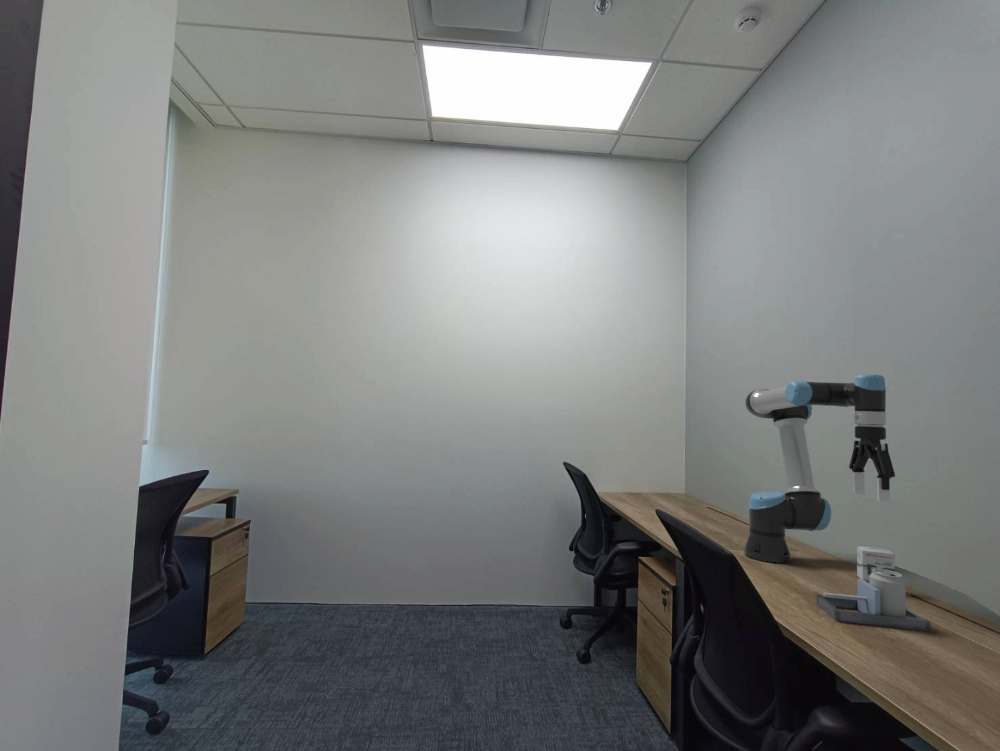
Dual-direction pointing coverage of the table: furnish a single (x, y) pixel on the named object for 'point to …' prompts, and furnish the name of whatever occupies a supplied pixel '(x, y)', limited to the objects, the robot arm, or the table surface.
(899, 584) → the can
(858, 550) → the ink box
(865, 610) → the pusher
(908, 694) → the table surface
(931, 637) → the table surface
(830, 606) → the frame
